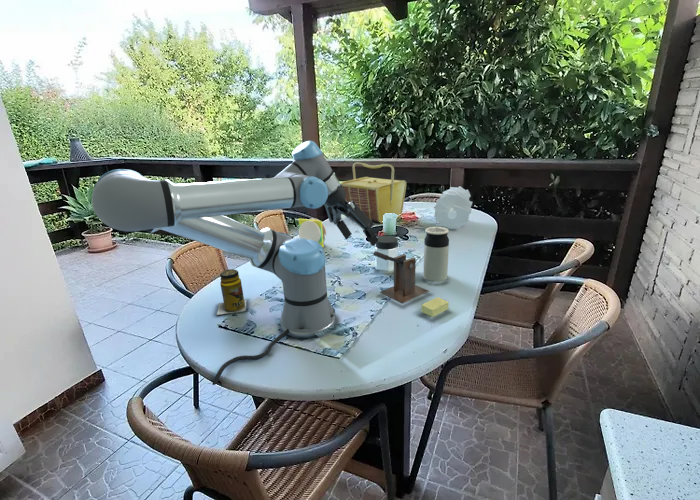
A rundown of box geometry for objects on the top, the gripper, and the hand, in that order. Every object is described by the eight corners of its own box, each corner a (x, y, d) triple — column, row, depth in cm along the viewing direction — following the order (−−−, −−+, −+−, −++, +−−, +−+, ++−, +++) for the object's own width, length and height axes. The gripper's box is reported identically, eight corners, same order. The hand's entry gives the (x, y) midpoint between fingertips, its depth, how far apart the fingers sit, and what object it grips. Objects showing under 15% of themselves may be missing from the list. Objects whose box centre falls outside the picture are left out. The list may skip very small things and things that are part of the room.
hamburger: (330, 243, 168) (328, 218, 163) (319, 249, 161) (317, 222, 157) (308, 240, 173) (306, 215, 169) (298, 245, 166) (295, 220, 162)
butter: (432, 321, 101) (432, 310, 100) (421, 315, 104) (421, 304, 103) (448, 312, 105) (448, 301, 104) (437, 307, 108) (437, 296, 107)
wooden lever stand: (402, 307, 109) (402, 267, 105) (379, 295, 117) (379, 258, 112) (429, 294, 116) (430, 257, 111) (406, 284, 123) (406, 249, 119)
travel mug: (445, 286, 121) (448, 234, 115) (421, 283, 124) (422, 232, 118) (448, 276, 128) (450, 227, 122) (425, 274, 131) (426, 225, 125)
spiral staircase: (441, 238, 180) (446, 221, 202) (476, 225, 172) (477, 209, 194) (426, 205, 176) (432, 192, 198) (461, 190, 168) (464, 178, 190)
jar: (383, 276, 131) (383, 244, 126) (370, 269, 137) (369, 239, 133) (403, 270, 135) (403, 239, 131) (389, 263, 142) (388, 234, 137)
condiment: (245, 311, 111) (239, 275, 107) (216, 315, 109) (209, 279, 105) (246, 300, 118) (241, 266, 114) (219, 304, 116) (212, 269, 112)
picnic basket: (408, 216, 206) (408, 161, 196) (379, 226, 189) (378, 167, 179) (368, 209, 225) (367, 159, 215) (339, 218, 208) (336, 164, 198)
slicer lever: (383, 261, 103) (386, 253, 103) (372, 256, 107) (374, 248, 107) (412, 270, 111) (414, 262, 111) (400, 265, 115) (402, 258, 115)
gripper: (364, 183, 102) (394, 237, 114) (315, 180, 121) (345, 227, 132) (347, 200, 99) (380, 254, 111) (299, 195, 118) (332, 241, 130)
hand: (361, 239), depth 122 cm, fingers open, 13 cm apart
